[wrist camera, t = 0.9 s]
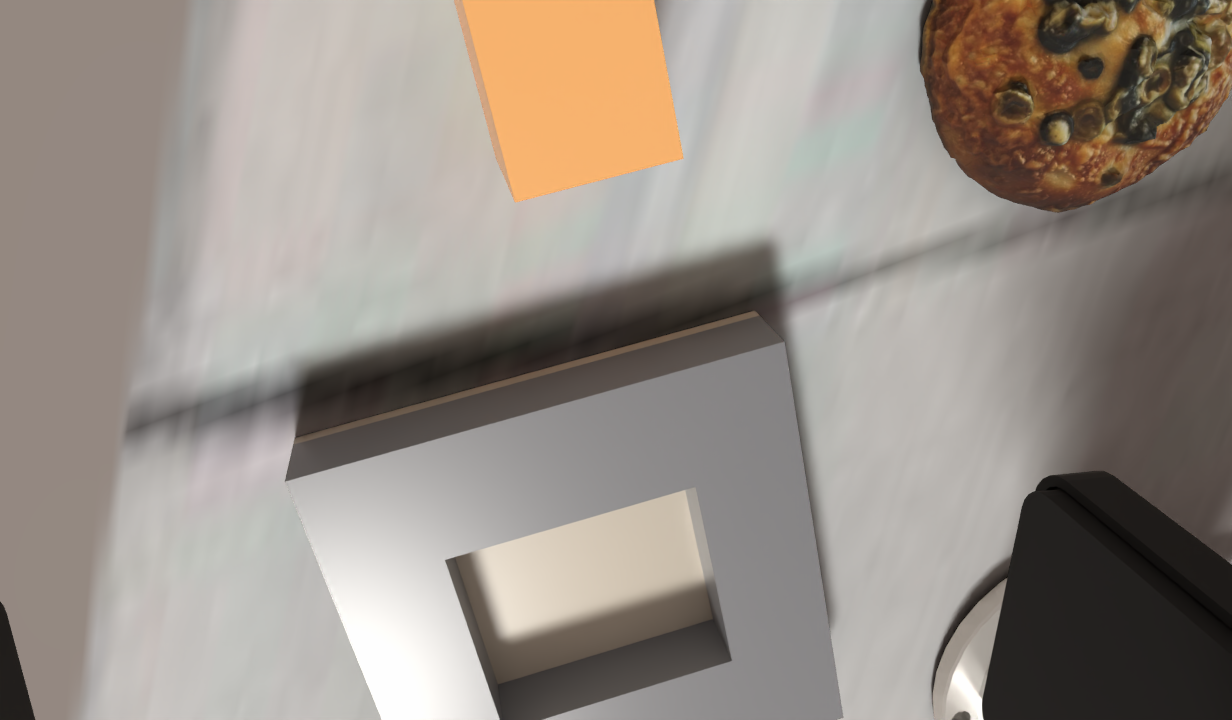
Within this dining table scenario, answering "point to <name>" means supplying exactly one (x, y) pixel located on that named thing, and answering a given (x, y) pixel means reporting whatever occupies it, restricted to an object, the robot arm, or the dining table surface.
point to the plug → (570, 89)
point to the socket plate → (582, 541)
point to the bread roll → (1072, 90)
